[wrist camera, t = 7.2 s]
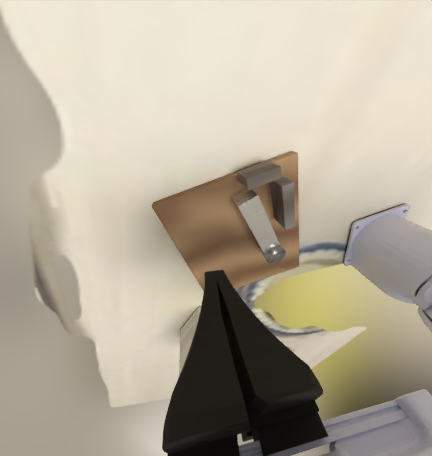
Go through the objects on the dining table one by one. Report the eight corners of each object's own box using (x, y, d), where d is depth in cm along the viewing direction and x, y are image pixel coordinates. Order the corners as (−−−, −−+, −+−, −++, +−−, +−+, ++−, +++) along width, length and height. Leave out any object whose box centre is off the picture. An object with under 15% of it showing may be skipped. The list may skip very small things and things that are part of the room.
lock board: (295, 261, 26) (309, 279, 23) (207, 292, 26) (210, 313, 23) (291, 148, 16) (315, 153, 13) (151, 200, 16) (145, 216, 14)
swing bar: (276, 242, 21) (288, 257, 19) (260, 251, 22) (269, 266, 19) (250, 185, 16) (261, 195, 14) (229, 197, 17) (237, 209, 14)
